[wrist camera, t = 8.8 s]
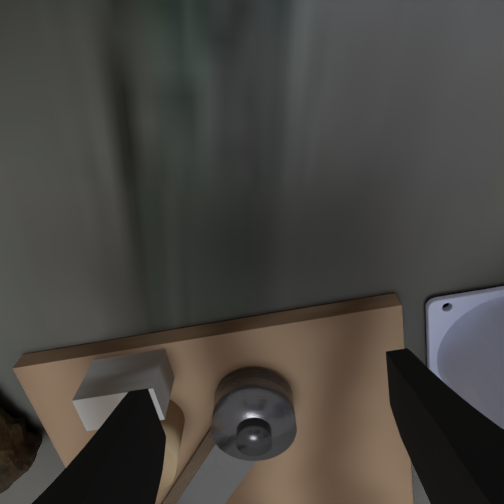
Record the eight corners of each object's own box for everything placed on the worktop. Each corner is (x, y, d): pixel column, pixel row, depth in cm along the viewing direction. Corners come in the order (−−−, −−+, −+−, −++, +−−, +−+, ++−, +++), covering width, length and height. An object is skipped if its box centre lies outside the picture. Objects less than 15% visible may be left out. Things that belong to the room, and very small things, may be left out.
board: (394, 293, 23) (423, 341, 19) (409, 529, 31) (432, 596, 27) (23, 354, 24) (-20, 409, 21) (130, 563, 33) (114, 631, 29)
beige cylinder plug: (175, 390, 24) (164, 439, 21) (191, 436, 25) (183, 489, 22) (114, 399, 24) (93, 450, 21) (133, 445, 26) (117, 498, 23)
